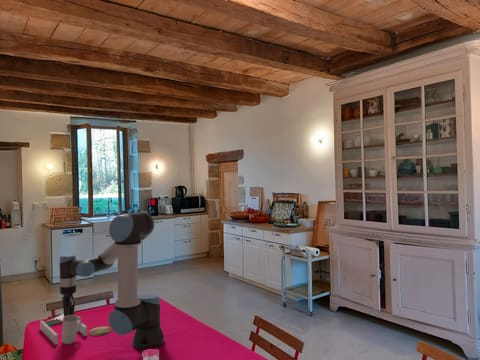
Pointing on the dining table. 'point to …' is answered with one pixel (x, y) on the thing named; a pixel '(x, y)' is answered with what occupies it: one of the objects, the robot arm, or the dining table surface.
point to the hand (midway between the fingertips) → (68, 331)
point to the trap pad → (53, 322)
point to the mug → (70, 328)
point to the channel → (54, 336)
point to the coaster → (99, 331)
